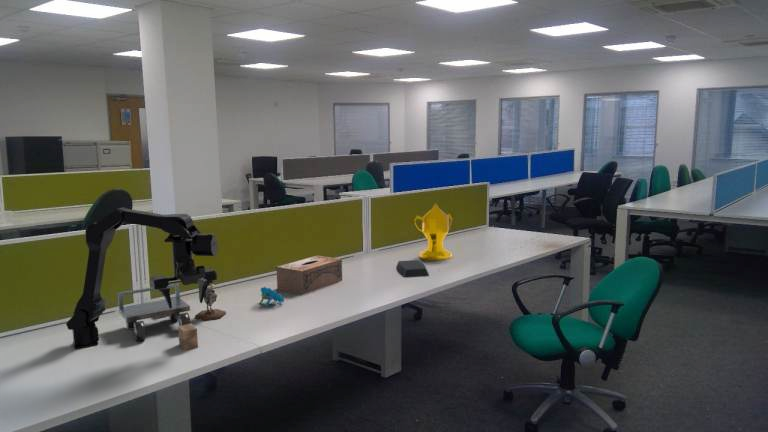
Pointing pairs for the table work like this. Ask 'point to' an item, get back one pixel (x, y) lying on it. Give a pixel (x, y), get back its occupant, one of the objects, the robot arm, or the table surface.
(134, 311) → the trolley
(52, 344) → the table surface
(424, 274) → the external hard drive
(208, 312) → the robot figurine
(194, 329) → the block
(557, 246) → the table surface
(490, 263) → the table surface
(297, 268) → the tissue box cover
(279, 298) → the blue irregular piece
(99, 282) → the robot arm
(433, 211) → the trophy cup
